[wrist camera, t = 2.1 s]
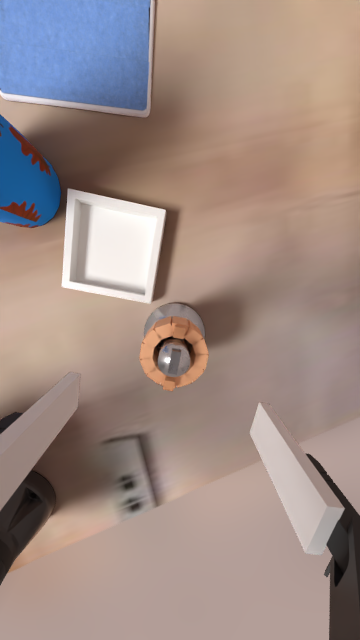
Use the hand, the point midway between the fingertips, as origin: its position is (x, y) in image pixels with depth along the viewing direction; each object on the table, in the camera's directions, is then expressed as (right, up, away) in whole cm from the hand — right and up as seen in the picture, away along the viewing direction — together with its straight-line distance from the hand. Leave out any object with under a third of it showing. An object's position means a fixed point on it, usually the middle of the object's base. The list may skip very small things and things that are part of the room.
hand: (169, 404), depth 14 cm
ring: (0, +3, +13) cm, 13 cm away
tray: (-9, +17, +15) cm, 24 cm away
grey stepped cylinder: (0, +4, +18) cm, 19 cm away
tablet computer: (-12, +40, +11) cm, 43 cm away
